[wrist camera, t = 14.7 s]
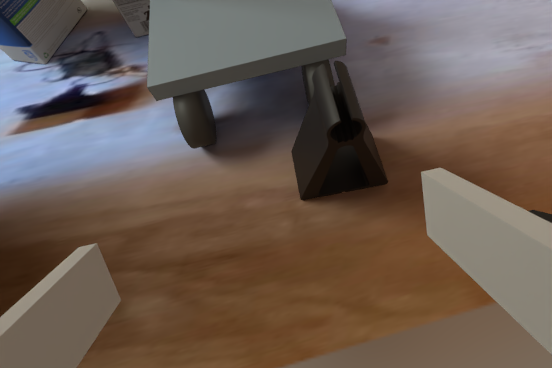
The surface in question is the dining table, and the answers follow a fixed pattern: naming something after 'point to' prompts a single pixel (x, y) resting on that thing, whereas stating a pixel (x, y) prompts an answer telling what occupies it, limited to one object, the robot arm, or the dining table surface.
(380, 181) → the phone stand
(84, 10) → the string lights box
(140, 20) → the coffee box
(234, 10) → the trolley
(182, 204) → the dining table surface
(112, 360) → the dining table surface
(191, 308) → the dining table surface
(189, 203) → the dining table surface
